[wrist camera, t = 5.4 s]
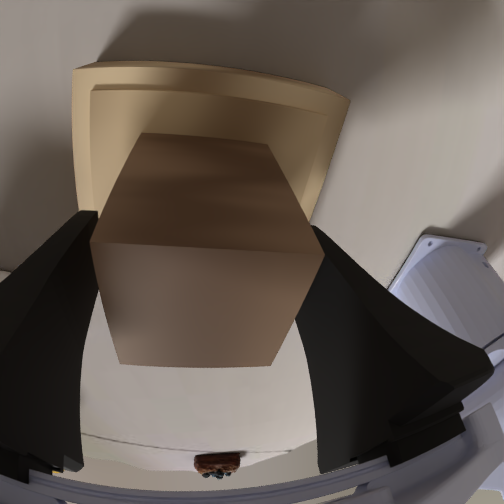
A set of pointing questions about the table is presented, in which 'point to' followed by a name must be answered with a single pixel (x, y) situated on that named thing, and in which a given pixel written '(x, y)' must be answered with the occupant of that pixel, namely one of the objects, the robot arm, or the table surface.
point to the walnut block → (202, 254)
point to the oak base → (199, 119)
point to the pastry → (217, 464)
